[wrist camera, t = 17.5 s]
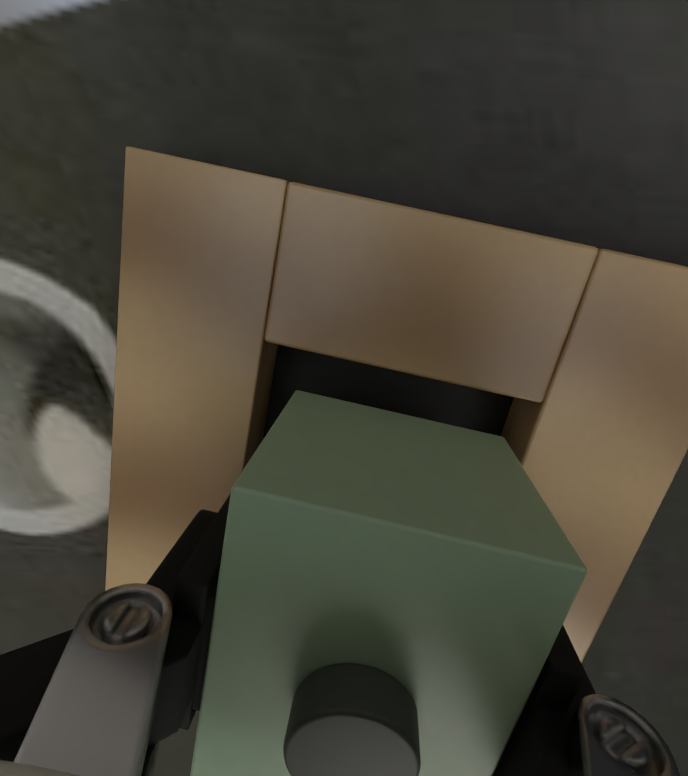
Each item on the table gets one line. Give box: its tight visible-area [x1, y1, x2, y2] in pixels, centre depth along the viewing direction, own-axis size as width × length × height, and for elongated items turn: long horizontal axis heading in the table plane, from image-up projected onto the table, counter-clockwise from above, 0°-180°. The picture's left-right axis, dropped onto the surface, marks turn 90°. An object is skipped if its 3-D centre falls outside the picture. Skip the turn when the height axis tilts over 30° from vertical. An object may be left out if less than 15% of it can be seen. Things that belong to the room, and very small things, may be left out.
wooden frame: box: [105, 146, 688, 663], centre depth 13 cm, size 16×14×2 cm
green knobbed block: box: [190, 390, 587, 776], centre depth 9 cm, size 7×5×5 cm
